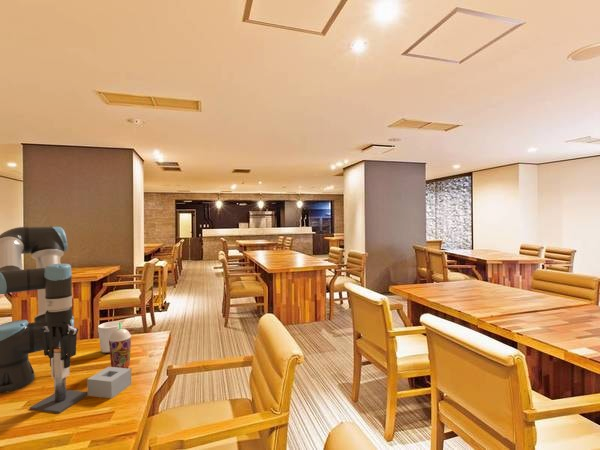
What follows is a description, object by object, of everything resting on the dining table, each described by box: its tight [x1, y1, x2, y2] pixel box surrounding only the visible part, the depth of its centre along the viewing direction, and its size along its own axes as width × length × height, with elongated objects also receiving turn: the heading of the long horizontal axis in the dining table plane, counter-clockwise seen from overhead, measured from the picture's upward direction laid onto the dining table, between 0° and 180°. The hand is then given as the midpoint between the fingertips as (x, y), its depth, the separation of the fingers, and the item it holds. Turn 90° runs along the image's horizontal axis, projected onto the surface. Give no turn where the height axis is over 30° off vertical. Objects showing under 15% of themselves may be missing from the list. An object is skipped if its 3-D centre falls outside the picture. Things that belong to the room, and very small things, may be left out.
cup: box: [97, 320, 123, 355], centre depth 158 cm, size 10×10×13 cm
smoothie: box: [109, 321, 132, 369], centre depth 139 cm, size 8×8×20 cm
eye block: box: [86, 366, 132, 399], centre depth 123 cm, size 10×10×6 cm
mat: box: [29, 389, 88, 414], centre depth 115 cm, size 12×12×1 cm
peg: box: [53, 346, 67, 402], centre depth 115 cm, size 3×3×18 cm
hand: (60, 375), depth 115 cm, fingers closed on peg, 3 cm apart
